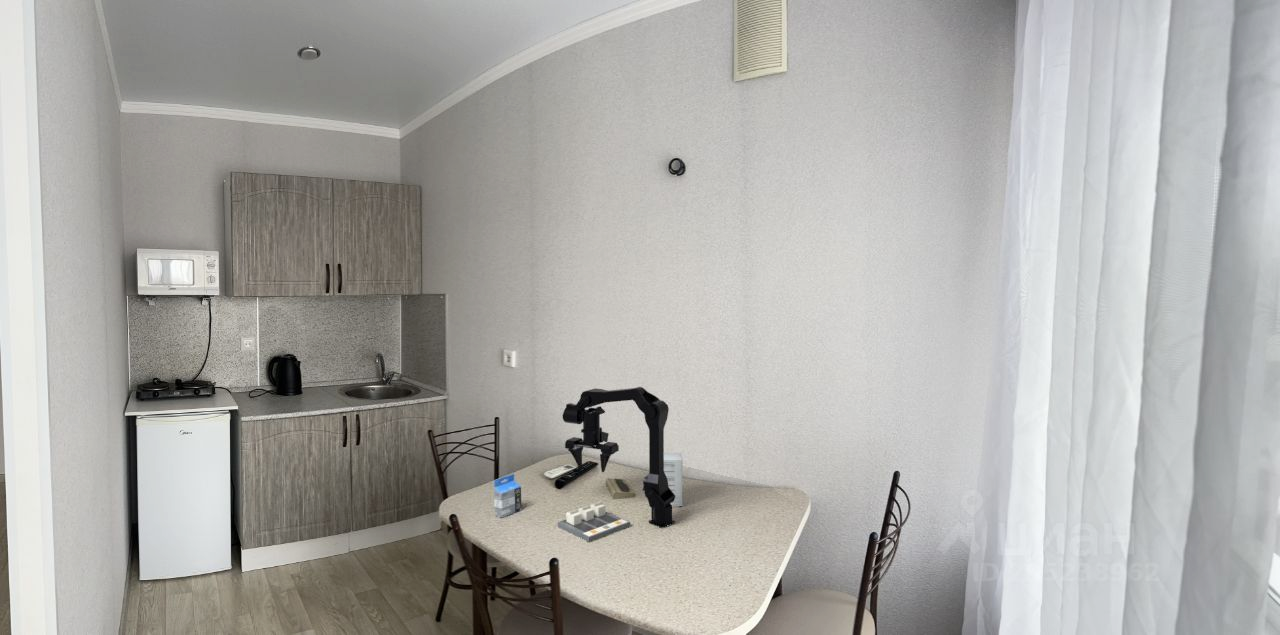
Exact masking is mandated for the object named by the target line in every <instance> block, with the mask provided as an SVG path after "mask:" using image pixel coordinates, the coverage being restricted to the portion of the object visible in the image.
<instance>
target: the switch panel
mask: <svg viewBox="0 0 1280 635" xmlns="http://www.w3.org/2000/svg"><path fill="white" fill-rule="evenodd" d="M629 526H630V527H631V521H629V520H626V519H625V518H622V517H619V516H617V515H615V514H612V513H610V512H608V511H606V510H605V515H603V516H600V517H597V516H595V515H594V519H591V520H588V521H585V520H583V519H582V523H580V524H577V525H572V524H570V523H568V522H566V519H563V520H560V521H558V522H557V527H558V528H559V529H561V530H563V531H565V532H567V533H570V534H571V533H572V534H571V535H573V536H575V537H577V538H579V537H580V538H579V539H581V538H582V539H581V540H583V539H584V540H583V541H585V540H586V541H585V542H587V541H588V542H587V543H591V542H594V541H596V539H597V540H599V539H601V537H602V538H604V536H605V537H606V536H609V534H610V535H612V534H615V533H617V531H618V532H620V531H622V529H623V530H625V529H627V527H628V528H630V527H629ZM624 528H625V529H624ZM614 532H615V533H614ZM593 540H594V541H593ZM590 541H591V542H590Z"/></svg>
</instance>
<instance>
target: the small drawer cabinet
mask: <svg viewBox="0 0 1280 635" xmlns="http://www.w3.org/2000/svg"><path fill="white" fill-rule="evenodd" d="M664 473H665V475H666V477H667V480H668V486H669V488H670V490H671V491H672V492H673V493H674V495H675V499H674V501H673V502H672V503H670V504H671V505H672V506H682V507H683V457H682V453H681V452H664Z"/></svg>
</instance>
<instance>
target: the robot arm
mask: <svg viewBox="0 0 1280 635" xmlns="http://www.w3.org/2000/svg"><path fill="white" fill-rule="evenodd" d="M579 397H580V398H579V400H578V401H577V403H576V404H574V403H572V402H570V403H566V404H565V405H566V406H565V408H564V410H563V412H562V420H563V422H564V423H566V424H567V423H568V424H575V425H581V424H582V429H581V430H580V433H582V437H583V438H582V437H575V436H574V437H571V438H569V439H566V440H565V442H564V449H567V450H568V452H570V454H571V455H572V457H573V459H574V461H575V463H576V465H577V467H578V469H580V470H581V469H582V468H583V449H584V448H585V449H593V450H599V451H600V452H601V453H600V454H599V456H600V458H599V460H600V468H601V472H602V473H604V472H605V471H606V468H607V465H608V463H609V462H608V461H609V460H610V458H611V456H612V455H614V454H615V453H617V452H619V450H620V448H619V447H620V446H619V444H618V442H613V441H608V440H609V433H608V432H605V431H603V428H602V427H601V426H600V423H601V420H600V419H601V416H600V415H602V414H605V413H606V411H605V409H603V408H602V406H598V405H601V404H605V403H613V402H614V403H615V402H624V401H625V402H627V401H633V402H634V403H635V404H636V406H637V408H638V409H639V411H640V412H642V413H643V414H644V422H645V424H646V425H647V429H648V434H649V435H648V437H649V438H648V441H649V442H648V444H649V445H648V449H649V450H648V451H649V452H648V453H649V455H648V456H649V457H648V459H649V460H648V461H649V464H648V466H649V471H648V475H646V476H645V477H643V479H642V484H643V488H642V492H644V497H645V498H647V501H648V506H649V507H650V509H651V510H650V511H651V512H650V513H651V516H650V517H651V518H650V519H649V520H648V524H652V525H653V524H654V526H656V525H657V526H656V527H658V526H659V527H658V528H661V527H664V528H666V527H668V526H667V525H669V526H671V525H673V524H672V523H674V522H675V523H676V520H674V519H673V507H672V505H671V504H670V503H672V502H673V501H674V499H675V495H674V493H673V492H672V491H671V490H670V488H669V486H668V480H667V477H666V475H665V473H664V453H665V451H664V447H665V444H664V443H665V442H664V439H665V438H664V436H665V434H664V433H665V432H664V430H665V426H666V423H667V421H668V417H669V416H668V415H669V405H668V404H667V403H666V402H665V401H664V400H662V399H660V398H659V397H657V396H656V395H655V394H653V393H651V392H649V391H648V390H646V389H645V388H644V387H642V386H637V387H633V388H632V387H631V388H622V389H620V388H619V389H612V390H611V389H610V390H609V389H608V390H607V389H603V388H592V389H588V390H584V391H582V392H581V394H580V396H579ZM596 406H597V407H596ZM587 408H588V409H587ZM603 442H604V443H603ZM675 523H674V524H675ZM670 524H671V525H670ZM665 526H666V527H665Z"/></svg>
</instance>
